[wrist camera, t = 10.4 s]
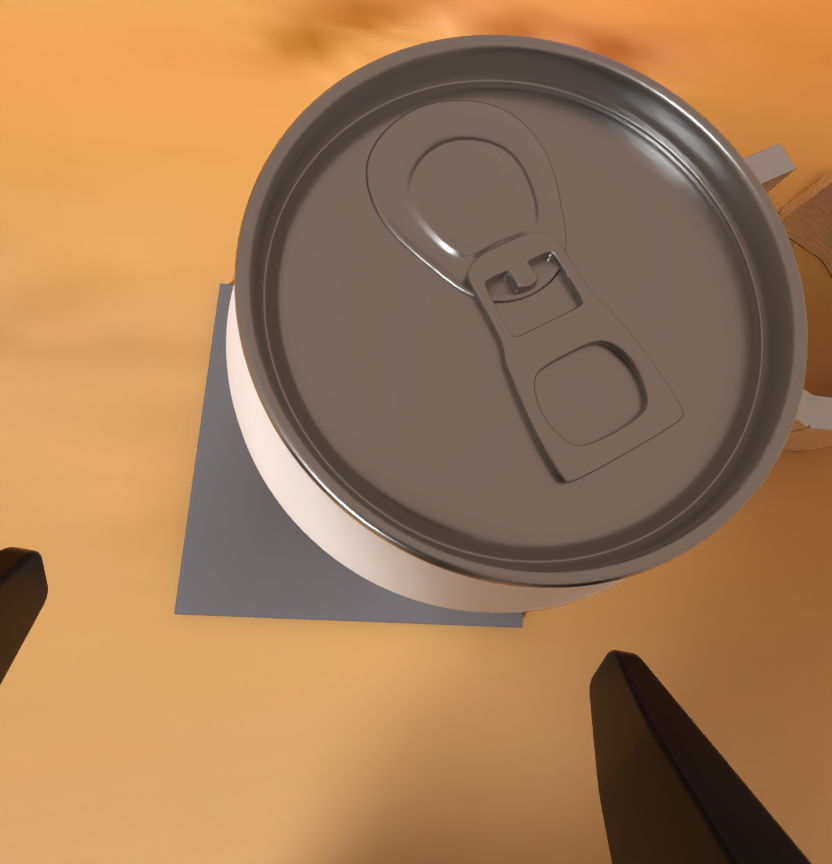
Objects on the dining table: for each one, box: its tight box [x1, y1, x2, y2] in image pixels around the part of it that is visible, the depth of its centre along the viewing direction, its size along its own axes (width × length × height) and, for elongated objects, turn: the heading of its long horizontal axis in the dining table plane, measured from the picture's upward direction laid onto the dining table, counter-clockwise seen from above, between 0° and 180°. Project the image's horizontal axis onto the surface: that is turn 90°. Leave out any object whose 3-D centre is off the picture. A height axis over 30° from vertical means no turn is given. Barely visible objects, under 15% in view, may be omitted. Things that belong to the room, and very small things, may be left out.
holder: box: [744, 144, 832, 451], centre depth 18 cm, size 10×10×3 cm
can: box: [226, 35, 808, 613], centre depth 11 cm, size 6×6×12 cm
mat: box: [174, 284, 522, 628], centre depth 17 cm, size 10×10×1 cm
